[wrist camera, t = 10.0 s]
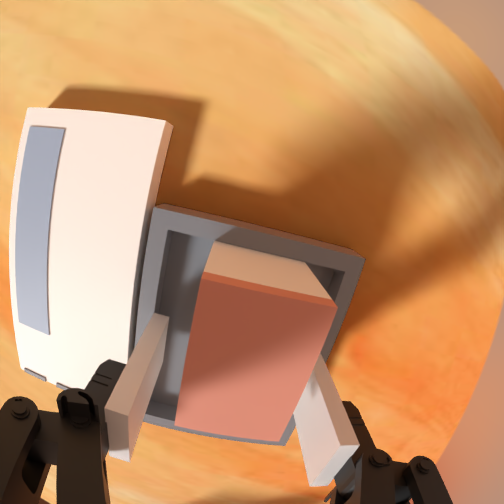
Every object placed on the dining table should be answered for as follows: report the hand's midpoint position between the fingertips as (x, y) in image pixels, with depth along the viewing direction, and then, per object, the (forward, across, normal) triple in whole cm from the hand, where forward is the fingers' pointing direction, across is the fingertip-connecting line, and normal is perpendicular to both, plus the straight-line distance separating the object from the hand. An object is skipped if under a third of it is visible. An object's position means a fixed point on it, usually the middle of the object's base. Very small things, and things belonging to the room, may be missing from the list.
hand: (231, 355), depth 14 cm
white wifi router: (+2, -9, +2) cm, 10 cm away
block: (+1, 0, +2) cm, 3 cm away
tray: (+2, 0, 0) cm, 2 cm away
